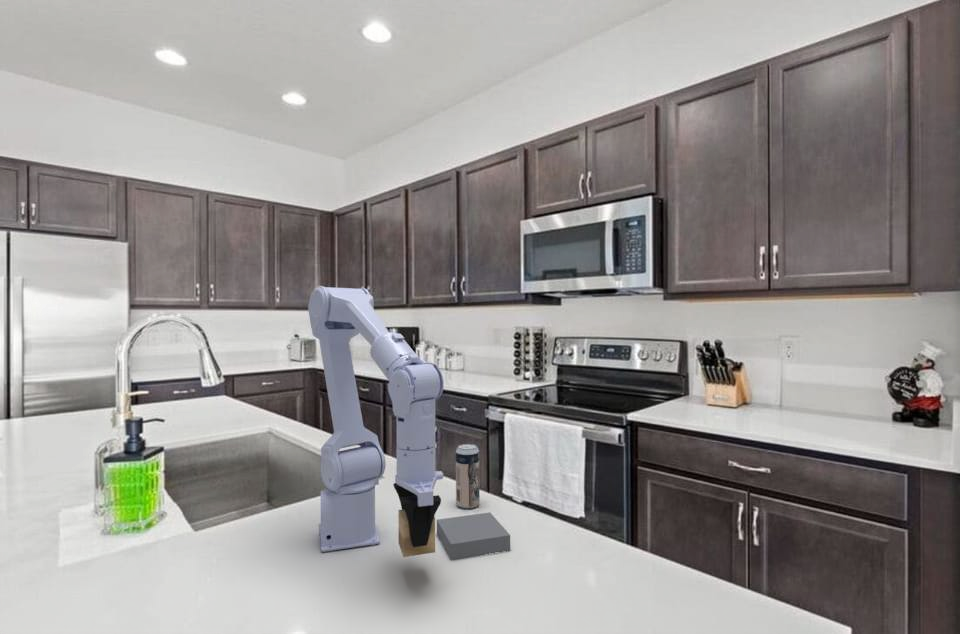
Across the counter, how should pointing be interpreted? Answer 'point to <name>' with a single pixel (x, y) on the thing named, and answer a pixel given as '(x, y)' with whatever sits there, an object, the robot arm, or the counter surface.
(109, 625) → the counter surface
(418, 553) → the oak block
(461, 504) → the beer can
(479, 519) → the charcoal base
